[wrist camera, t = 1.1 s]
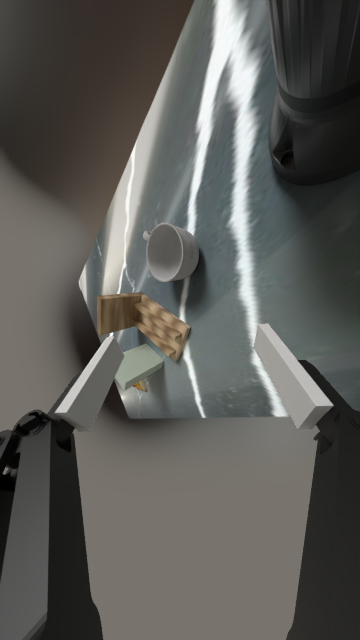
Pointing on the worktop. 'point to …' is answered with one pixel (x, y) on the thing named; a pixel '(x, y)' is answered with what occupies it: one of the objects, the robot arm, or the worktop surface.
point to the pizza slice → (141, 385)
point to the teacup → (171, 252)
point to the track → (142, 320)
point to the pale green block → (137, 365)
